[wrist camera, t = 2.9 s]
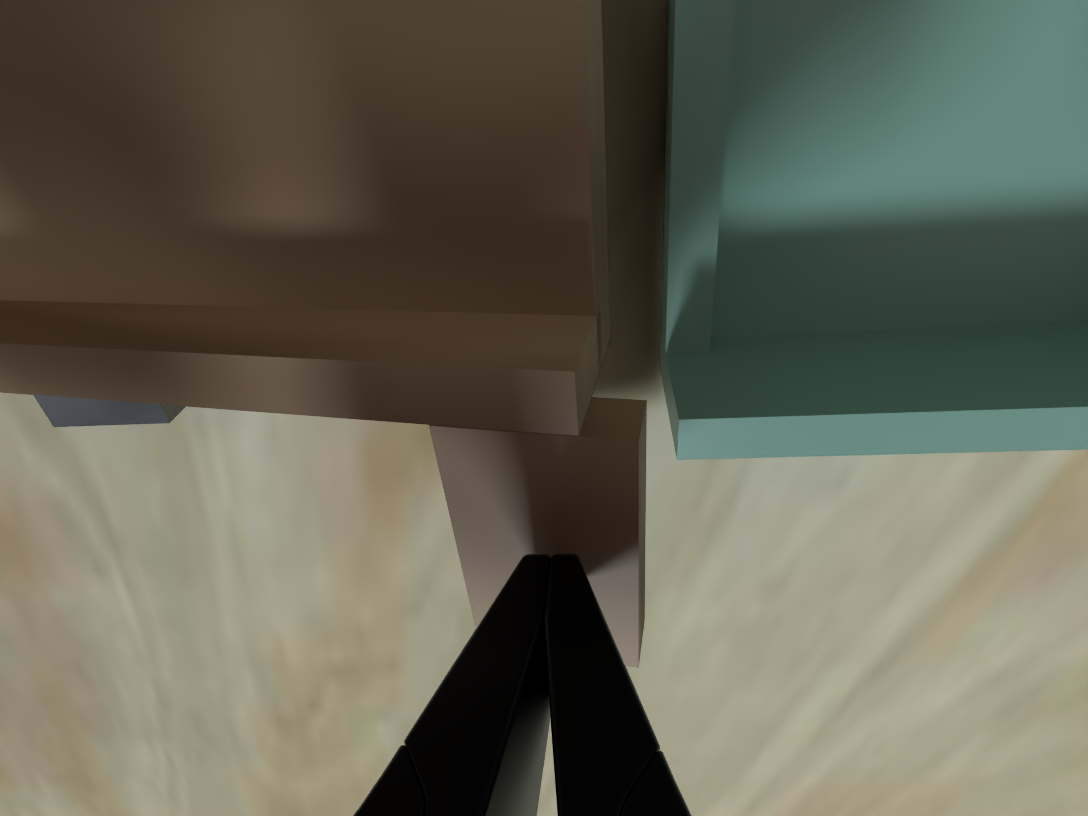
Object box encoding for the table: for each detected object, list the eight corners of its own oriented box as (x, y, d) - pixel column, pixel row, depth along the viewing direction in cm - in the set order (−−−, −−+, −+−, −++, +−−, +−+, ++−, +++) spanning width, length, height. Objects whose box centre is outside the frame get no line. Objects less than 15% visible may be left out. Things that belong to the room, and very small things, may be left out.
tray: (1197, 346, 12) (1365, 441, 9) (660, 367, 13) (676, 459, 10) (1822, -748, 5) (2851, -1372, 3) (681, -533, 6) (737, -867, 4)
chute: (644, 620, 12) (629, 740, 10) (-6, 525, 16) (-103, 597, 14) (652, -317, 5) (611, -493, 3) (-477, -64, 9) (-784, -76, 7)
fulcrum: (267, 324, 13) (169, 422, 10) (176, 329, 13) (53, 427, 10) (58, -240, 8) (-242, -373, 5) (-77, -219, 8) (-441, -337, 5)
